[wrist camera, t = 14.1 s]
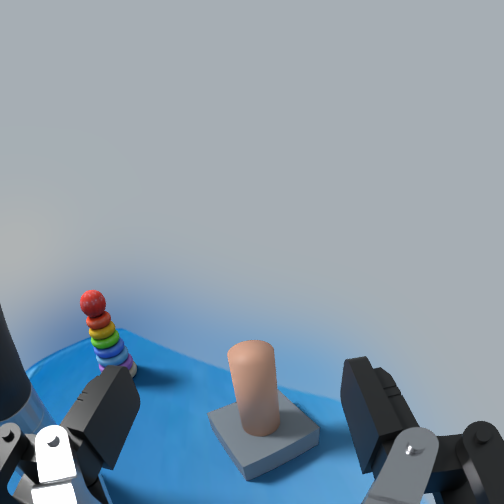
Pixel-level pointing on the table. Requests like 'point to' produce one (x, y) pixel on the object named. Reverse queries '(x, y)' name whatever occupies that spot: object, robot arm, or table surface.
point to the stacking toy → (105, 334)
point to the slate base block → (264, 438)
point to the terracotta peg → (255, 386)
